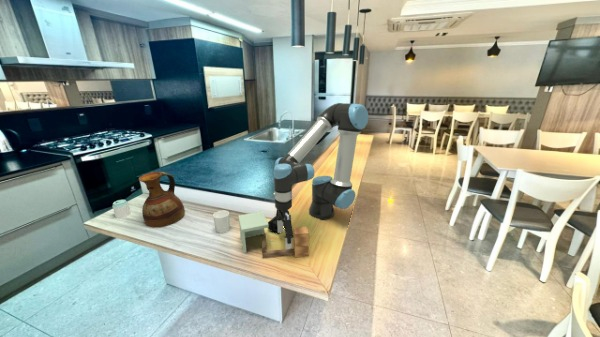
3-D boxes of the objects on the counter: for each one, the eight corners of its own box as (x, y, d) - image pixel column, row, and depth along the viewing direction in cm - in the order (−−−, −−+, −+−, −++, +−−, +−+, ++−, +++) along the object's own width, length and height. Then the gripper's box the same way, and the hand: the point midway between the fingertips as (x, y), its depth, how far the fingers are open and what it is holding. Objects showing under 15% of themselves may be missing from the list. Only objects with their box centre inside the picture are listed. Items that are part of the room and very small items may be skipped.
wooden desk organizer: (303, 239, 114) (303, 218, 110) (308, 256, 102) (308, 233, 98) (262, 243, 111) (261, 221, 107) (262, 261, 99) (261, 237, 96)
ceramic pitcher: (138, 226, 127) (124, 175, 117) (172, 210, 143) (162, 164, 134) (159, 235, 118) (147, 181, 108) (193, 217, 135) (184, 169, 125)
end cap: (277, 222, 129) (277, 211, 127) (288, 225, 126) (288, 214, 124) (267, 231, 121) (266, 220, 119) (278, 235, 118) (277, 223, 116)
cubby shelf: (264, 232, 120) (262, 211, 116) (269, 247, 108) (268, 224, 104) (240, 237, 116) (238, 215, 112) (243, 253, 104) (241, 229, 100)
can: (117, 225, 127) (111, 205, 124) (116, 220, 133) (111, 201, 129) (132, 220, 132) (127, 202, 128) (131, 216, 137) (126, 197, 133)
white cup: (225, 225, 127) (223, 208, 124) (234, 230, 122) (232, 213, 119) (212, 231, 121) (210, 214, 118) (220, 236, 116) (218, 219, 113)
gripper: (268, 189, 111) (270, 227, 118) (282, 213, 89) (284, 258, 95) (283, 187, 114) (284, 224, 120) (301, 210, 91) (301, 254, 98)
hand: (284, 239), depth 108 cm, fingers open, 13 cm apart
